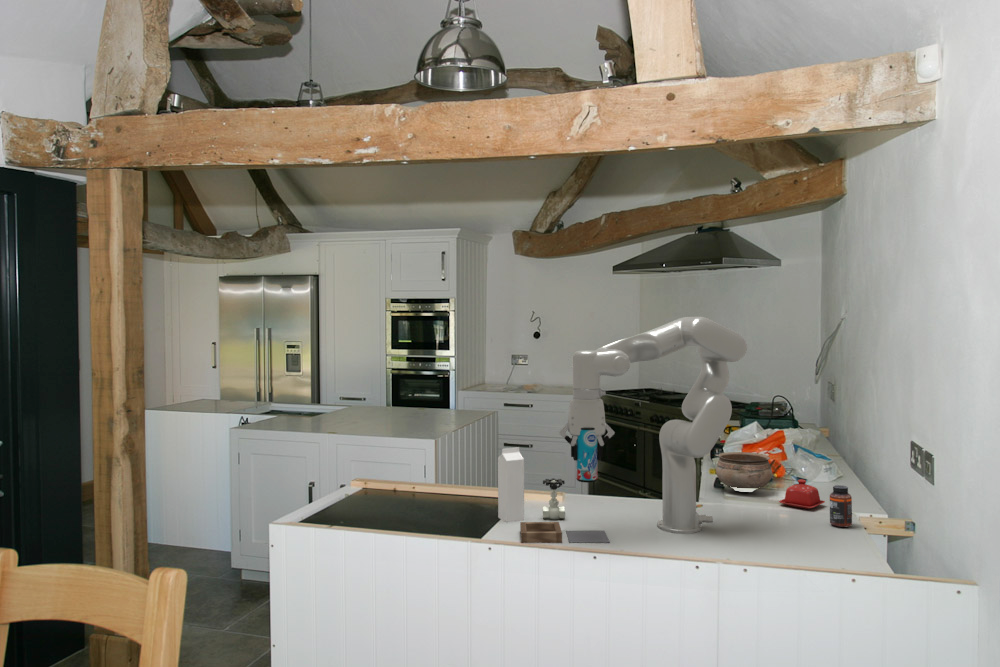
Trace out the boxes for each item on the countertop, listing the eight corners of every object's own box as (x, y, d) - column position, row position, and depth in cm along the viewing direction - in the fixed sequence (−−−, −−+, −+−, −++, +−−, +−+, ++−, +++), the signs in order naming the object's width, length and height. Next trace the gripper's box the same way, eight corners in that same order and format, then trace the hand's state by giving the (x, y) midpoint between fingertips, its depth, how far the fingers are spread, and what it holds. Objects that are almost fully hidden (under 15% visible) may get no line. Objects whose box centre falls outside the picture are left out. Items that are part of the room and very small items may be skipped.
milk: (498, 519, 223) (497, 447, 222) (515, 516, 225) (514, 445, 225) (507, 523, 217) (506, 450, 217) (524, 521, 220) (524, 448, 220)
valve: (565, 522, 218) (565, 482, 218) (543, 522, 218) (543, 482, 218) (564, 516, 224) (564, 478, 224) (542, 516, 225) (542, 478, 224)
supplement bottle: (851, 523, 215) (851, 485, 215) (852, 528, 210) (852, 489, 210) (829, 521, 218) (829, 483, 218) (829, 526, 212) (829, 487, 212)
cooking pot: (785, 498, 246) (785, 462, 246) (731, 499, 245) (731, 463, 244) (754, 482, 271) (754, 449, 271) (705, 483, 270) (705, 450, 269)
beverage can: (582, 483, 198) (582, 428, 198) (572, 479, 204) (572, 426, 203) (601, 482, 200) (601, 427, 200) (591, 477, 206) (591, 424, 206)
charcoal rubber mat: (604, 532, 208) (604, 530, 208) (610, 543, 197) (609, 542, 197) (565, 532, 208) (565, 530, 208) (569, 544, 197) (569, 542, 197)
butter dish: (776, 505, 238) (776, 479, 238) (792, 499, 246) (792, 474, 246) (811, 511, 230) (812, 485, 229) (827, 505, 237) (827, 479, 237)
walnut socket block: (558, 532, 208) (558, 521, 208) (562, 544, 197) (561, 533, 197) (520, 532, 208) (520, 522, 208) (521, 544, 197) (521, 533, 197)
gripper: (615, 393, 205) (615, 457, 206) (554, 393, 205) (554, 457, 206) (619, 396, 198) (620, 462, 198) (556, 396, 198) (556, 462, 198)
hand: (586, 459), depth 202 cm, fingers closed on beverage can, 5 cm apart
